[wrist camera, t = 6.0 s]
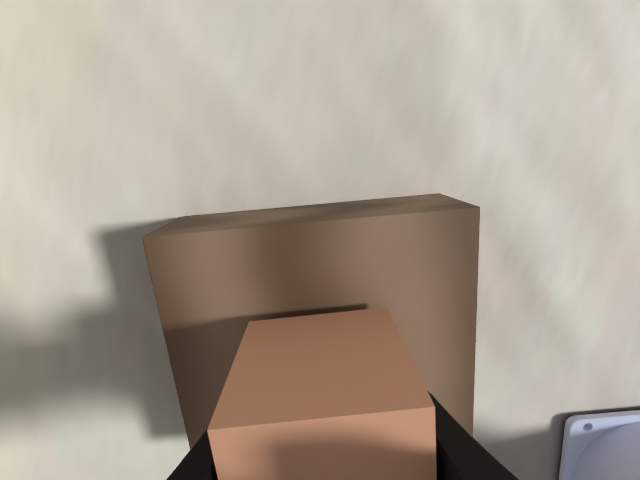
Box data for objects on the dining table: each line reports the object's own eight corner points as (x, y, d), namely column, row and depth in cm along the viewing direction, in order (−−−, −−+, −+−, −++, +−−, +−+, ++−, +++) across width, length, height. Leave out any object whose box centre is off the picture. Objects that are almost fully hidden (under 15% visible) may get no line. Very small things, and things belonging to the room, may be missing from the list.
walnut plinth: (439, 193, 16) (479, 207, 12) (438, 408, 19) (471, 475, 15) (183, 216, 16) (142, 237, 12) (224, 427, 19) (201, 498, 15)
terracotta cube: (386, 307, 12) (435, 406, 7) (393, 422, 13) (439, 573, 9) (248, 321, 12) (207, 430, 7) (268, 435, 13) (243, 593, 9)
